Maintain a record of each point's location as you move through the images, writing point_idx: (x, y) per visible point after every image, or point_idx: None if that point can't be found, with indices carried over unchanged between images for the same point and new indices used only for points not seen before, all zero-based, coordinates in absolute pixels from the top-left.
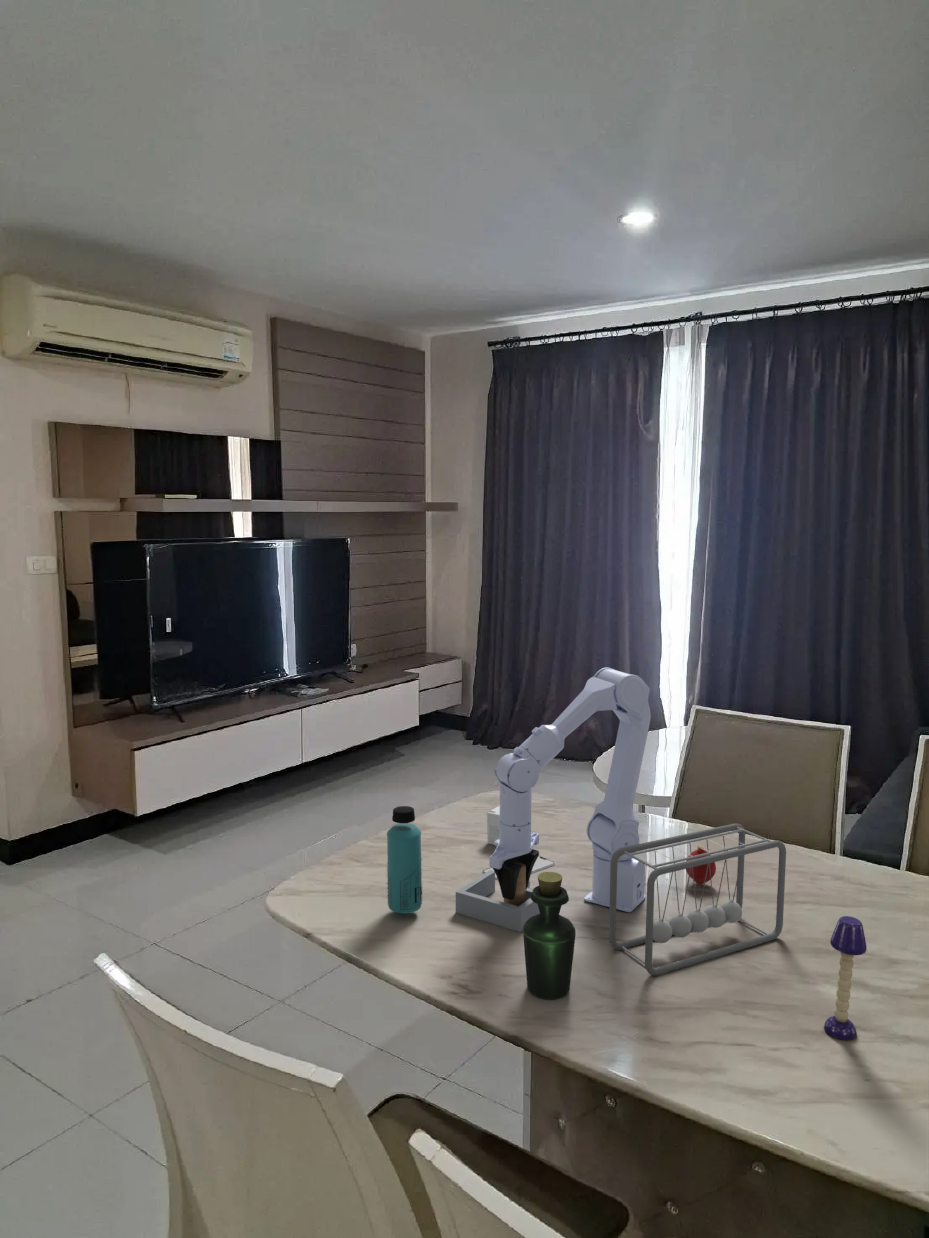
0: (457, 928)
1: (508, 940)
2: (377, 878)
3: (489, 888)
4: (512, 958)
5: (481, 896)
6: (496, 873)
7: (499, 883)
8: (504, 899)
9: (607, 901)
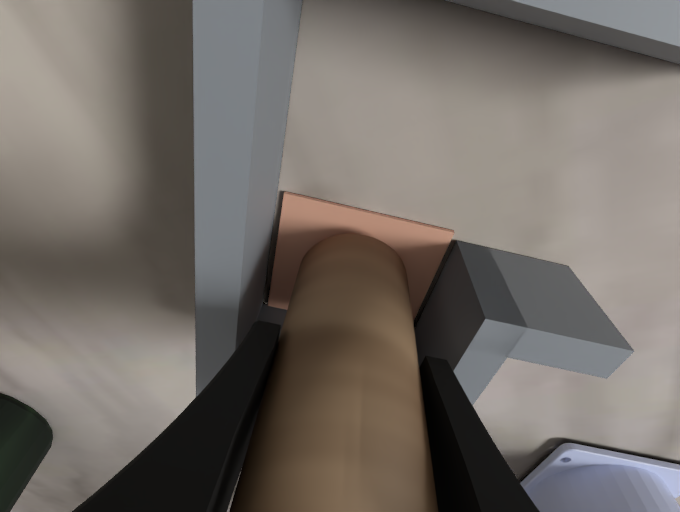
0: (75, 18)
1: (148, 293)
2: None
3: (668, 57)
4: (49, 329)
5: (239, 163)
6: (97, 500)
7: (197, 397)
8: (299, 302)
9: (531, 499)
